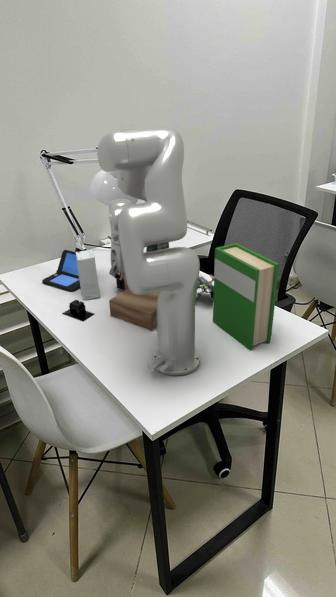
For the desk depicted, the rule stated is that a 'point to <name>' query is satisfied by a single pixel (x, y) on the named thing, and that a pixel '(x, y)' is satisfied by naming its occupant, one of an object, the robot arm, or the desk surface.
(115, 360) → the desk surface
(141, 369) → the desk surface
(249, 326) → the hardback book
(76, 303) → the build plate
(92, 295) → the skincare box
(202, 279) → the passion flower
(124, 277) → the beige rounded cylinder
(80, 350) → the desk surface
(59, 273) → the game console
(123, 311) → the walnut block
